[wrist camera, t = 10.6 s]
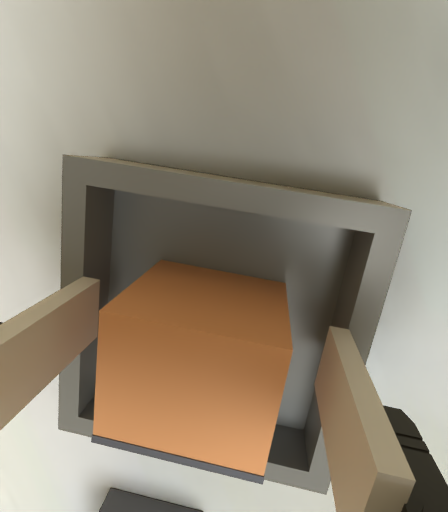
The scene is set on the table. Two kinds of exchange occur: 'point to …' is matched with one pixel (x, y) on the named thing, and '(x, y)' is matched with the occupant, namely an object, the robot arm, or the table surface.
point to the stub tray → (233, 261)
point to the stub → (193, 368)
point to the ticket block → (138, 503)
